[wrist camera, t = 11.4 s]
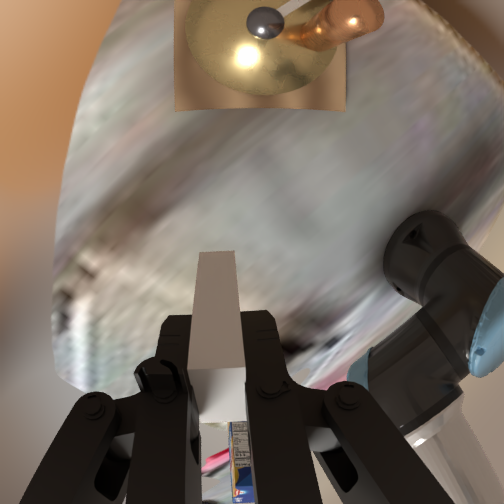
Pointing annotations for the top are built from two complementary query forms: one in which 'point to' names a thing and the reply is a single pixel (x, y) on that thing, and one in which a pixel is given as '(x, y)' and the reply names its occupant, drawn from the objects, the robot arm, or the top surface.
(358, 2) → the disc
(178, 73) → the levelling stand
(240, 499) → the beverage box
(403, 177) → the top surface
